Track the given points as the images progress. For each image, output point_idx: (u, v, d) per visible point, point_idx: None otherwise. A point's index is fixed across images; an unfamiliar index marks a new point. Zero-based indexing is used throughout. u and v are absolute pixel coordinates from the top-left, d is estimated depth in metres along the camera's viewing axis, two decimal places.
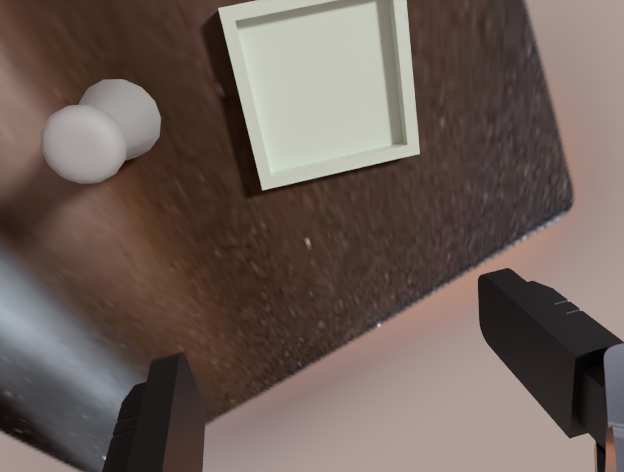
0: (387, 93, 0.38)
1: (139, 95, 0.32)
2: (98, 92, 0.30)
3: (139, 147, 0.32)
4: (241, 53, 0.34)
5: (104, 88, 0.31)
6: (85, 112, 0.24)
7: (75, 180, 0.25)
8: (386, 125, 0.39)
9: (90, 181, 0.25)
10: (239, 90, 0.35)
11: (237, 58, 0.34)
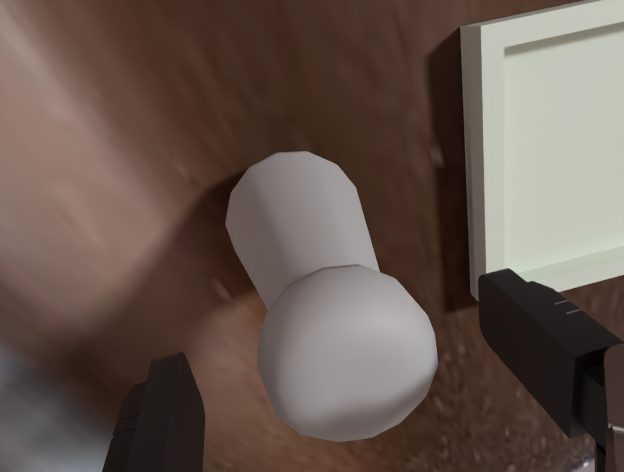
0: None
1: (346, 185, 0.18)
2: (296, 192, 0.16)
3: None
4: (501, 102, 0.20)
5: (298, 179, 0.16)
6: (384, 305, 0.10)
7: (328, 439, 0.11)
8: None
9: None
10: (485, 163, 0.21)
11: (493, 111, 0.20)
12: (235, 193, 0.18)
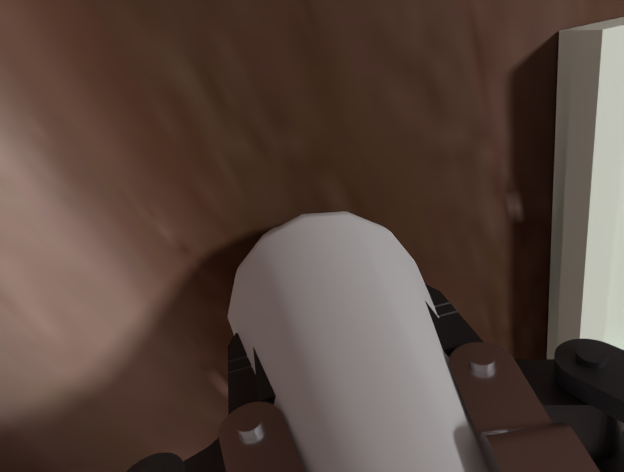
0: None
1: (408, 267, 0.12)
2: (343, 296, 0.10)
3: None
4: (620, 138, 0.14)
5: (342, 269, 0.11)
6: None
7: None
8: None
9: None
10: (591, 220, 0.15)
11: (608, 150, 0.14)
12: (242, 276, 0.12)
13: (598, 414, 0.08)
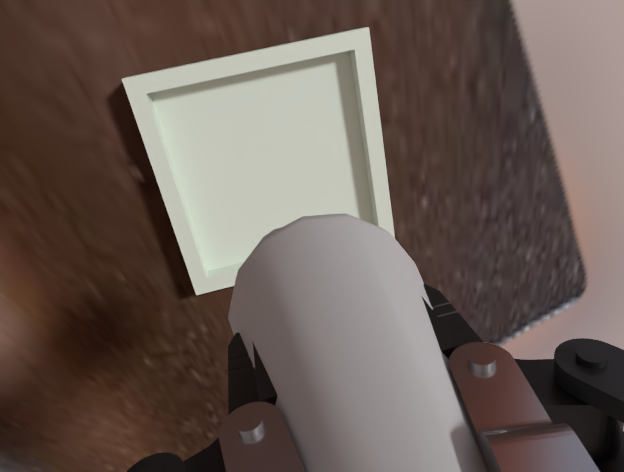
0: (354, 172, 0.30)
1: (408, 269, 0.12)
2: (343, 298, 0.10)
3: None
4: (157, 134, 0.26)
5: (342, 271, 0.11)
6: None
7: None
8: (353, 209, 0.31)
9: None
10: (157, 179, 0.27)
11: (152, 140, 0.26)
12: (243, 279, 0.12)
13: (598, 414, 0.08)
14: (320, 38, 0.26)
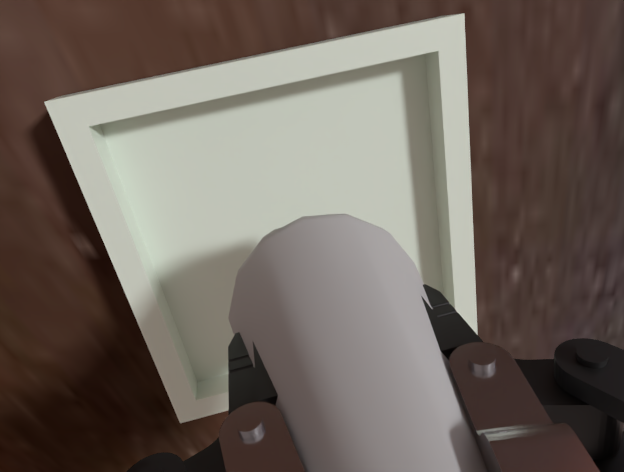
0: (420, 238, 0.20)
1: (408, 269, 0.12)
2: (343, 298, 0.10)
3: None
4: (110, 191, 0.16)
5: (342, 271, 0.11)
6: None
7: None
8: None
9: None
10: (114, 261, 0.17)
11: (102, 201, 0.16)
12: (243, 278, 0.12)
13: (598, 414, 0.08)
14: (384, 32, 0.15)
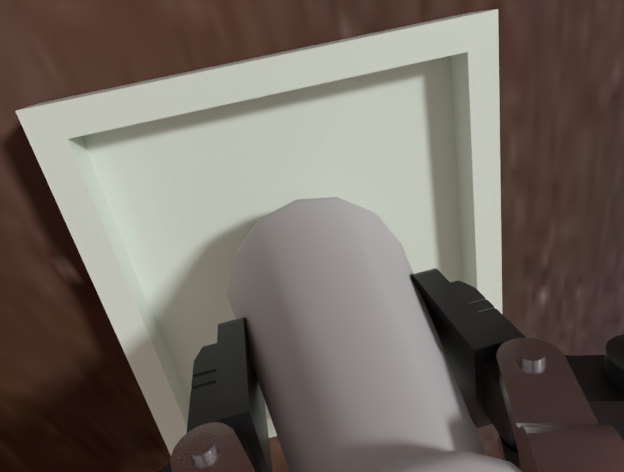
0: (440, 259, 0.18)
1: (393, 247, 0.13)
2: (330, 270, 0.11)
3: None
4: (94, 212, 0.14)
5: (330, 247, 0.12)
6: None
7: None
8: None
9: None
10: (99, 289, 0.15)
11: (85, 223, 0.14)
12: (241, 257, 0.13)
13: None
14: (406, 30, 0.13)
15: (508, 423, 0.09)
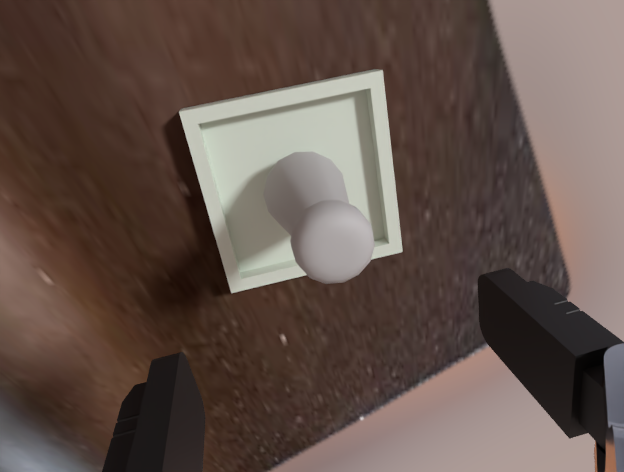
0: (367, 189, 0.35)
1: (335, 170, 0.30)
2: (307, 172, 0.28)
3: None
4: (205, 156, 0.31)
5: (308, 166, 0.29)
6: (348, 212, 0.22)
7: (323, 281, 0.23)
8: None
9: (338, 281, 0.24)
10: (204, 194, 0.32)
11: (201, 161, 0.31)
12: (270, 175, 0.31)
13: None
14: (342, 79, 0.31)
15: None
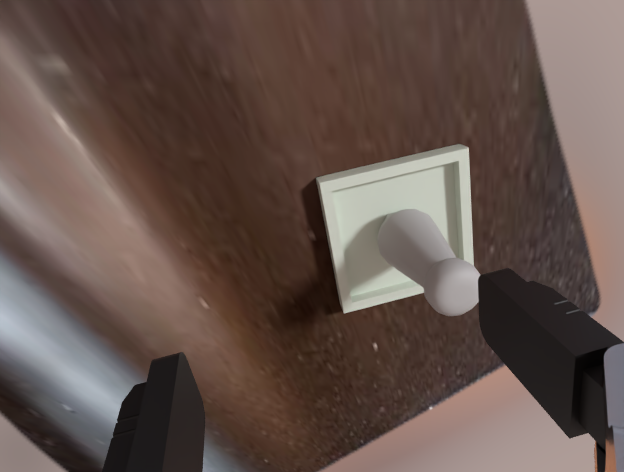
0: (449, 232, 0.46)
1: (435, 225, 0.41)
2: (420, 230, 0.39)
3: None
4: (335, 214, 0.42)
5: (418, 224, 0.39)
6: (469, 269, 0.33)
7: (448, 314, 0.34)
8: None
9: (457, 314, 0.34)
10: (331, 240, 0.43)
11: (331, 218, 0.42)
12: (385, 228, 0.41)
13: None
14: (439, 155, 0.41)
15: None
